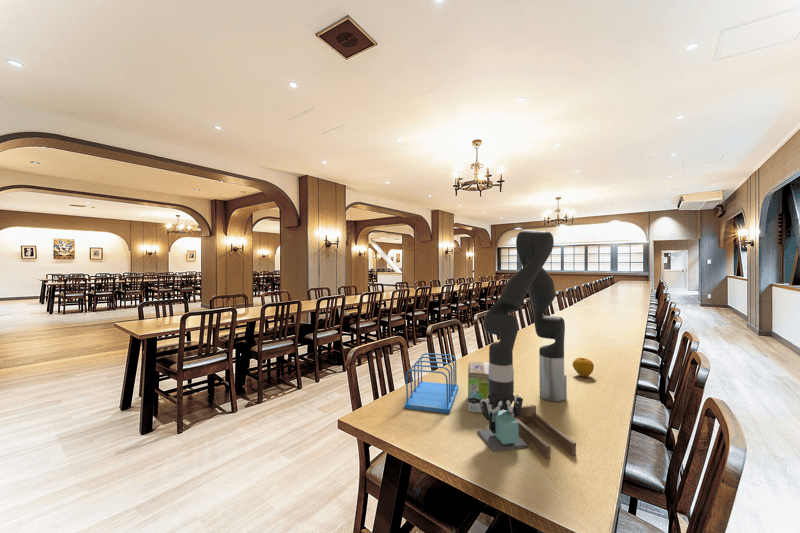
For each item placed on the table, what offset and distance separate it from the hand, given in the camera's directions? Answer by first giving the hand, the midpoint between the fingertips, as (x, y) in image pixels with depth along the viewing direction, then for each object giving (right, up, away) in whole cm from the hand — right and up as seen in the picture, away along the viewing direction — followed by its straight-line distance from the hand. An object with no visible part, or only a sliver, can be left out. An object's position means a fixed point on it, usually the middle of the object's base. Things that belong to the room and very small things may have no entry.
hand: (501, 430), depth 102 cm
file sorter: (-18, -3, +32) cm, 37 cm away
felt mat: (0, -3, 0) cm, 3 cm away
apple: (+57, -2, +56) cm, 80 cm away
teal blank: (0, -1, -2) cm, 2 cm away
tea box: (0, -3, +25) cm, 26 cm away
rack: (+12, -3, 0) cm, 12 cm away
